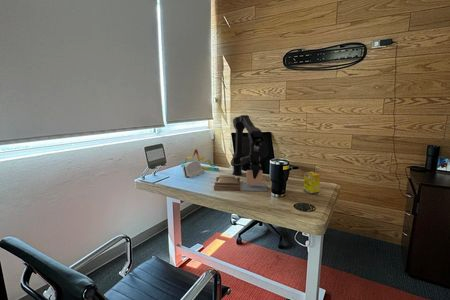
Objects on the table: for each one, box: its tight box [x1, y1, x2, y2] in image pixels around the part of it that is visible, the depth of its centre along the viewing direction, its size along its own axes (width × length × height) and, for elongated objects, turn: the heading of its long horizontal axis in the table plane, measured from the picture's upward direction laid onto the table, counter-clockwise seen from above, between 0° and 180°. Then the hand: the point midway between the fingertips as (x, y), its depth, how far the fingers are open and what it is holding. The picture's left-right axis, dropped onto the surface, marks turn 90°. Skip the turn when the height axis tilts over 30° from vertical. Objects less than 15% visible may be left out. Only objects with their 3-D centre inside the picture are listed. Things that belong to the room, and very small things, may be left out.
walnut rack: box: [213, 176, 241, 191], centre depth 147 cm, size 17×15×2 cm
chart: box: [180, 148, 220, 172], centre depth 183 cm, size 30×3×15 cm, turn 68°
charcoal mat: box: [241, 181, 269, 192], centre depth 144 cm, size 14×14×1 cm
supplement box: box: [303, 171, 321, 195], centre depth 135 cm, size 6×6×11 cm
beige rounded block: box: [182, 160, 205, 179], centre depth 169 cm, size 17×5×10 cm, turn 149°
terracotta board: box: [246, 169, 263, 185], centre depth 143 cm, size 2×9×8 cm, turn 87°
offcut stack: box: [217, 174, 239, 183], centre depth 151 cm, size 5×12×4 cm, turn 87°
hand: (254, 177), depth 143 cm, fingers closed on terracotta board, 2 cm apart
